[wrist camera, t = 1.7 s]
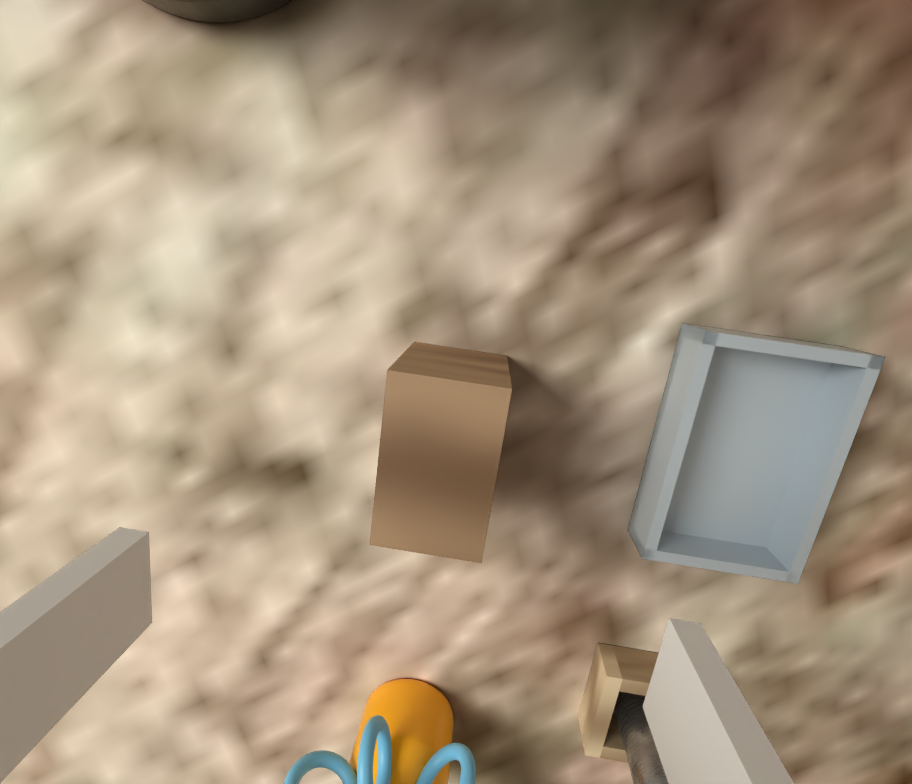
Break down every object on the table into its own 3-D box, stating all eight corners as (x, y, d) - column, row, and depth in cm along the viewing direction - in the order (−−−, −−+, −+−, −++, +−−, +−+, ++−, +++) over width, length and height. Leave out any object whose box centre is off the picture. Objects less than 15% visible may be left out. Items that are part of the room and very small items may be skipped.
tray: (682, 323, 25) (705, 331, 22) (841, 346, 24) (885, 356, 22) (627, 529, 28) (642, 558, 25) (767, 552, 28) (797, 583, 25)
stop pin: (611, 659, 30) (675, 874, 20) (672, 670, 30) (769, 891, 20) (598, 707, 31) (652, 935, 21) (657, 717, 31) (741, 952, 21)
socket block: (597, 642, 30) (606, 676, 28) (694, 659, 30) (712, 694, 27) (577, 717, 32) (584, 755, 29) (669, 733, 31) (684, 772, 29)
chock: (414, 341, 26) (387, 370, 19) (506, 355, 26) (512, 388, 19) (398, 476, 28) (369, 544, 21) (484, 490, 28) (481, 562, 21)
